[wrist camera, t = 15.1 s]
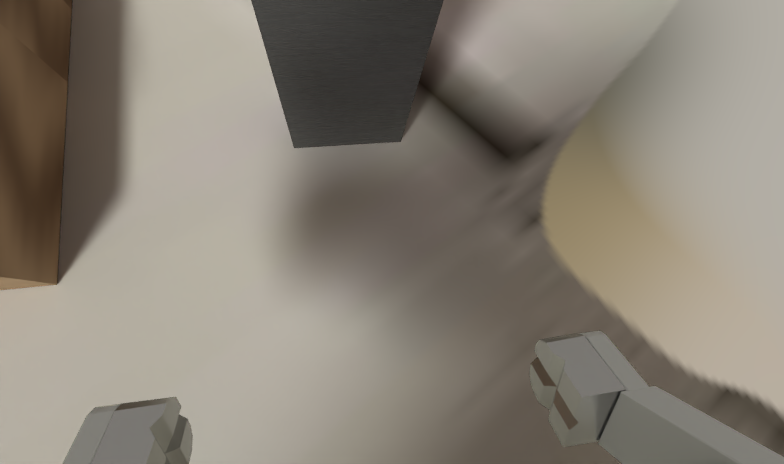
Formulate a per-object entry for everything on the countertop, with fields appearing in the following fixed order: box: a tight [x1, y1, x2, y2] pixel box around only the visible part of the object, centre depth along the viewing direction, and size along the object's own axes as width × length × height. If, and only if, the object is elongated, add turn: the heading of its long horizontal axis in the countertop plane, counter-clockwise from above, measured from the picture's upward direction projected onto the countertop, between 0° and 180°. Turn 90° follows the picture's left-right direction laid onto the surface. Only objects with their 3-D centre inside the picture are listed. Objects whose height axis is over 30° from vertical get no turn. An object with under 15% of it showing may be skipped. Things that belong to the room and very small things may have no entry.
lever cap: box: [251, 0, 443, 148], centre depth 14 cm, size 4×5×12 cm
